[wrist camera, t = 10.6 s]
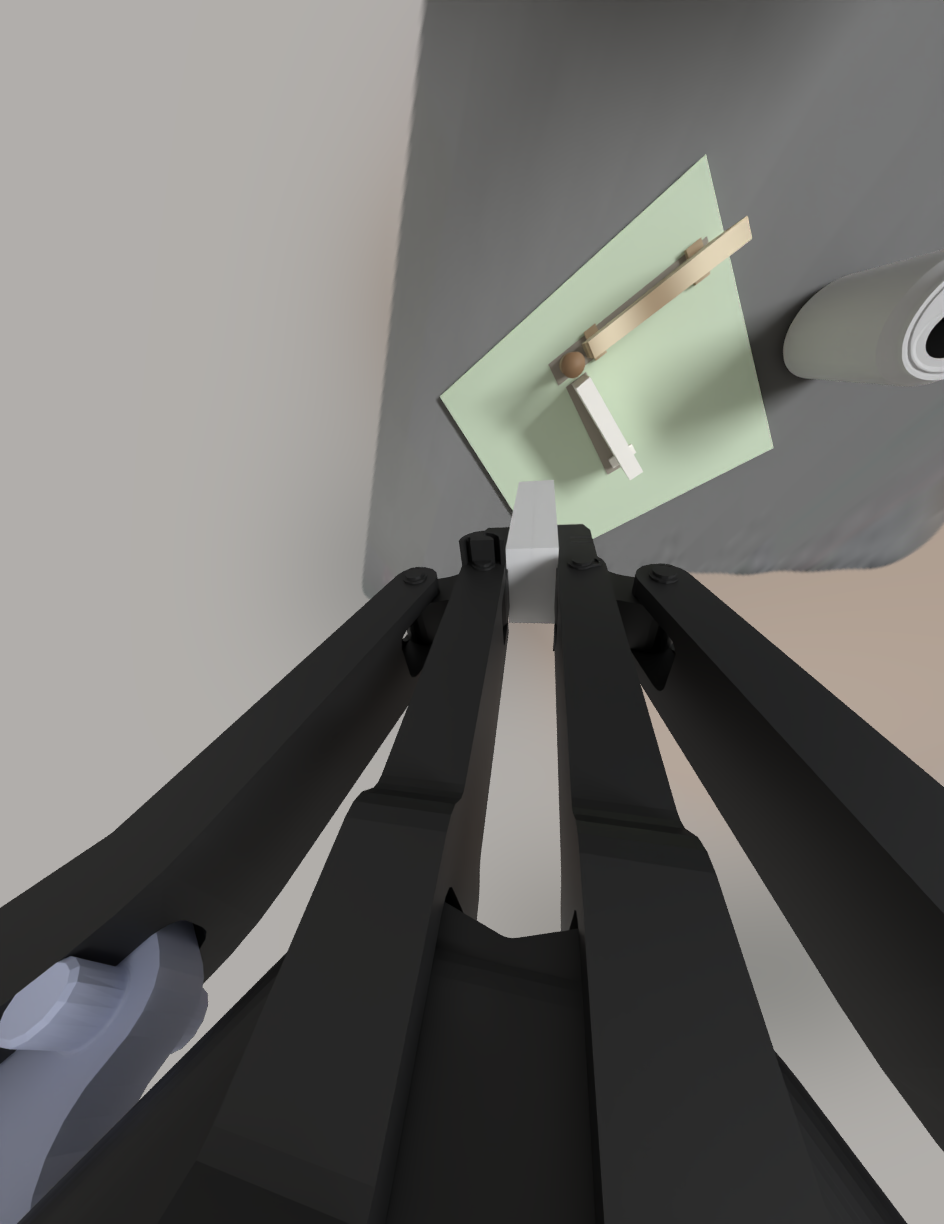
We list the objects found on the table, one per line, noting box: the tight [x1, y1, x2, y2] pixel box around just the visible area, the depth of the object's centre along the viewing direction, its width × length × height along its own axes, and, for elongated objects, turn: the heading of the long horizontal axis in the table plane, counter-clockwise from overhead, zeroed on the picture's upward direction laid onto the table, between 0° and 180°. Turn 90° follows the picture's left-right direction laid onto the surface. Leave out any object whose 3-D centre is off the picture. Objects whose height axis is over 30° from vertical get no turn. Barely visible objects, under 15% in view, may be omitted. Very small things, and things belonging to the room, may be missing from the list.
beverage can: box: [783, 249, 944, 387], centre depth 22 cm, size 6×6×12 cm
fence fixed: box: [559, 216, 752, 378], centre depth 25 cm, size 12×2×8 cm, turn 126°
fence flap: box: [572, 374, 643, 480], centre depth 30 cm, size 9×2×6 cm, turn 41°
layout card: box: [440, 155, 773, 539], centre depth 33 cm, size 24×22×1 cm
